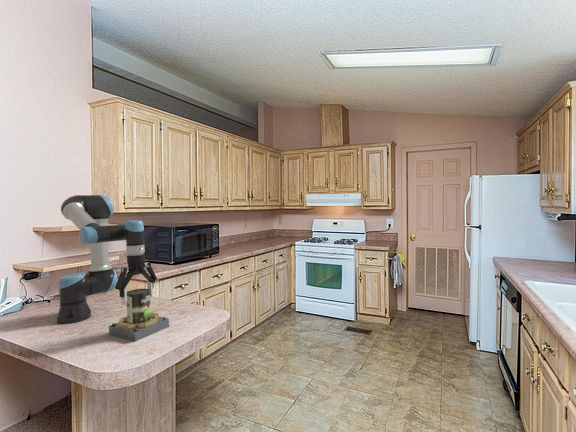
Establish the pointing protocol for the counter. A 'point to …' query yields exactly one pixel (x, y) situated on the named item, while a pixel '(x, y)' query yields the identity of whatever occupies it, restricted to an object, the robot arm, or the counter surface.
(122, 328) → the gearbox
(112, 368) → the counter surface
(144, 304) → the coffee can
